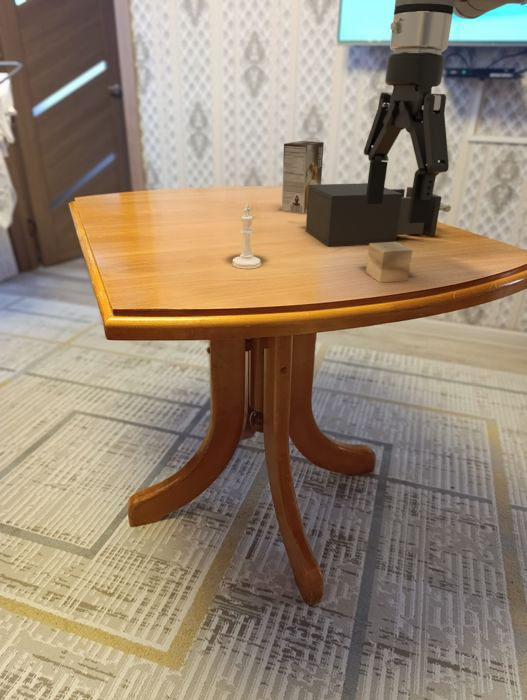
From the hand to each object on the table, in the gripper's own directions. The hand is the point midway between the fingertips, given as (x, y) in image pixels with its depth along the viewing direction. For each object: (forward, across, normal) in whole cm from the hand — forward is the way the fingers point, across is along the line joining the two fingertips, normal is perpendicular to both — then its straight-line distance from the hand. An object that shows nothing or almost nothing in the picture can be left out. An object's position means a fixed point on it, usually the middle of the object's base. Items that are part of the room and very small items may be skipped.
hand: (393, 212), depth 78 cm
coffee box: (+11, -50, +3) cm, 51 cm away
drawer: (+9, -25, +17) cm, 31 cm away
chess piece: (+11, -11, -20) cm, 26 cm away
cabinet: (+10, -25, +5) cm, 27 cm away
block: (+10, 0, 0) cm, 10 cm away
